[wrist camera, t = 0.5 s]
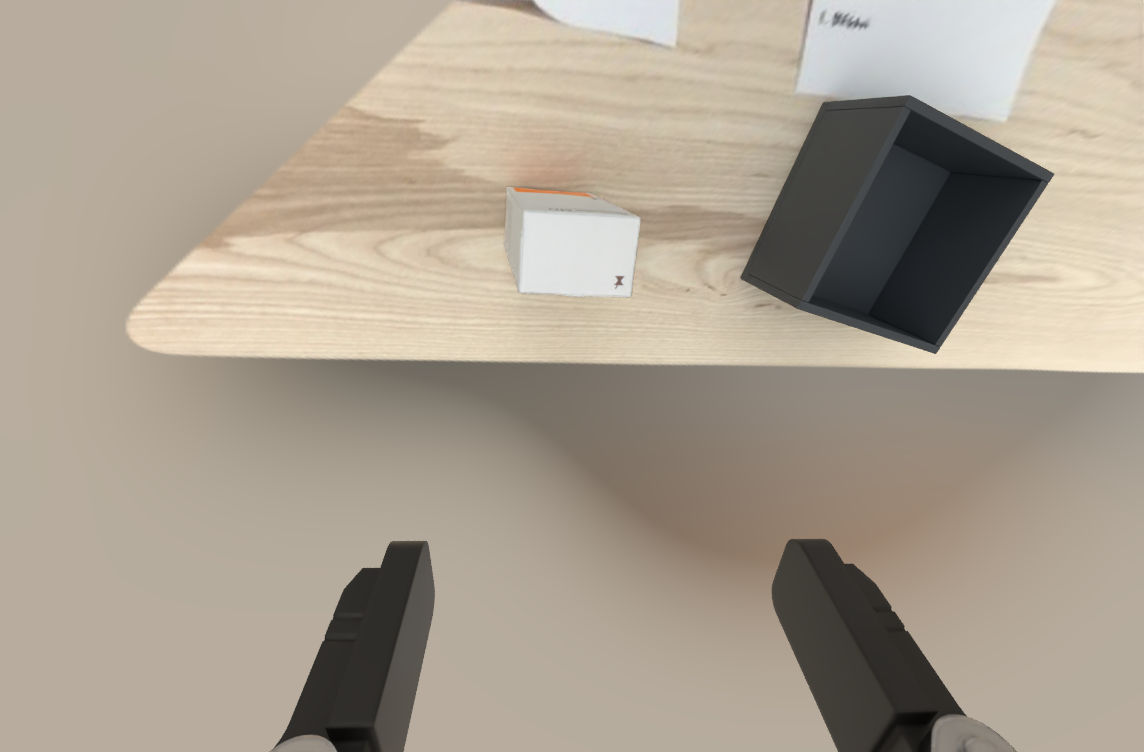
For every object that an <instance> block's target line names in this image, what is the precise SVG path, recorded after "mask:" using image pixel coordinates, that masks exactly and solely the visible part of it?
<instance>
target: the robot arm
mask: <svg viewBox="0 0 1144 752" xmlns="http://www.w3.org/2000/svg"><path fill="white" fill-rule="evenodd" d="M434 592H435V590H434V580H433V573H432V566H431V559H430V552H429V546H428V542H427V541H392V542H390V544H389V546H388V548H387V550H386V553H385V556H384V559H383V562H382V565H381V568H362V570H361V571H360V572H359V573H358V574H357V575H356V576H355V577H354V579H353V580H352V581H351V582H350V583H349V584H348V585H347V586H346V588H345V589H344V590H343V593H342V595H341V598H340V600H339V603H338V605H337V607H336V610H335V612H334V615H333V616H334V617H333V620H331V622H330V624H329V627H328V630H327V632H326V635H325V640H324V641H323V642H322V644H321V647H320V649H319V652H318V654H317V657H316V659H315V661H314V664H313V666H312V669H311V671H310V674H309V676H308V679H307V681H306V683H305V686H304V688H303V691H302V693H301V696H300V698H299V701H298V703H297V706H296V708H295V711H294V713H293V715H292V718H291V720H290V723H289V725H288V727H287V729H286V731H285V733H284V734H283V736H282V738H281V739H280V741H279V742H278V743H277V745H276V746H275V747H274V748H273V749H272V750H271V751H270V752H403V751H404V746H405V742H406V737H407V733H408V728H409V723H410V719H411V714H412V709H413V705H414V700H415V695H416V691H417V686H418V681H419V677H420V672H421V668H422V663H423V658H424V654H425V649H426V644H427V640H428V634H429V630H430V626H431V621H432V616H433V610H434V597H435V593H434ZM772 600H773V605H774V608H775V611H776V614H777V616H778V618H779V621H780V623H781V625H782V627H783V629H784V632H785V634H786V636H787V638H788V641H789V643H790V645H791V647H792V650H793V652H794V654H795V656H796V659H797V661H798V663H799V665H800V667H801V670H802V672H803V674H804V676H805V679H806V681H807V683H808V685H809V687H810V690H811V692H812V694H813V696H814V699H815V701H816V703H817V705H818V708H819V710H820V712H821V714H822V717H823V719H824V721H825V723H826V725H827V728H828V730H829V732H830V734H831V737H832V739H833V741H834V743H835V745H836V748H837V750H838V752H1017V751H1016V750H1015V749H1014V748H1013V747H1012V746H1011V745H1010V744H1009V743H1008V742H1007V741H1006V740H1005V739H1004V738H1003V737H1001V736H1000V735H999V734H998V733H997V732H995V731H994V730H992V729H991V728H990V727H988V726H986V725H985V724H983V723H981V722H979V721H977V720H974V719H973V718H969V717H967V716H966V715H965V714H964V712H963V711H962V710H961V708H960V707H959V706H958V704H957V703H956V701H955V700H954V698H953V697H952V696H951V694H950V693H949V691H948V690H947V688H946V687H945V685H944V684H943V682H942V681H941V679H940V678H939V676H938V675H937V673H936V672H935V670H934V669H933V668H932V666H931V665H930V663H929V662H928V660H927V659H926V657H925V656H924V654H923V653H922V651H921V650H920V648H919V647H918V645H917V644H916V643H915V641H914V640H913V638H912V637H911V635H910V634H909V632H908V631H905V629H904V625H903V623H902V622H901V620H900V619H899V618H898V616H897V615H896V613H895V612H893V611H892V610H891V606H890V604H889V603H888V601H887V600H886V598H885V597H884V595H883V594H882V593H881V591H880V590H879V588H878V587H877V585H876V584H875V583H874V582H873V581H872V580H871V579H870V578H869V577H867V576H866V575H865V574H864V573H863V572H862V571H861V570H859V569H858V568H857V567H856V566H855V565H854V564H844V563H843V561H842V560H841V558H840V556H839V555H838V553H837V552H836V550H835V549H834V547H833V546H832V544H831V543H830V542H829V541H827V540H825V539H791V540H789V541H788V543H787V544H786V547H785V550H784V553H783V555H782V558H781V561H780V564H779V567H778V569H777V572H776V575H775V578H774V581H773V584H772Z"/></svg>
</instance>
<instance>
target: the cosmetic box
mask: <svg viewBox="0 0 1144 752" xmlns="http://www.w3.org/2000/svg"><path fill="white" fill-rule="evenodd" d="M640 222H641V218H640V217H638V216H636V215H634V214H632V213H630V212H628V211H626V210H624V209H622V208H620V207H618V206H616V205H614V204H612V203H610V202H608V201H605V200H603V199H601V198H599V197H597V196H595V195H593V194H591V193H584V192H564V191H548V190H537V189H527V188H517V187H507V197H506V219H505V241H504V246H505V250H506V253H507V256H508V259H509V262H510V265H511V269H512V272H513V275H514V278H515V282H516V285H517V290H518V292H520V293H522V294H546V295H564V296H572V297H586V296H589V297H631V296H632V289H633V280H634V271H635V263H636V254H637V246H638V238H639V230H640Z"/></svg>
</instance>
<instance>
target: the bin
mask: <svg viewBox="0 0 1144 752" xmlns="http://www.w3.org/2000/svg"><path fill="white" fill-rule="evenodd" d="M1053 176H1054V173H1052V172H1050V171H1048V170H1047V169H1045V168H1043V167H1041V166H1039V165H1037V164H1036V163H1034V162H1032V161H1030V160H1028V159H1026V158H1024V157H1023V156H1021V155H1019V154H1017V153H1015V152H1013V151H1012V150H1010V149H1008V148H1006V147H1004V146H1002V145H1001V144H999V143H997V142H995V141H993V140H991V139H990V138H988V137H986V136H984V135H982V134H980V133H979V132H977V131H975V130H973V129H971V128H969V127H967V126H966V125H964V124H962V123H960V122H958V121H956V120H955V119H953V118H951V117H949V116H947V115H945V114H944V113H942V112H940V111H938V110H936V109H934V108H933V107H931V106H929V105H927V104H925V103H923V102H922V101H920V100H918V99H916V98H914V97H912V96H910V95H907V96H895V97H883V98H870V99H858V100H846V101H833V102H824V103H823V104H822V106H821V108H820V111H819V113H818V115H817V117H816V119H815V121H814V123H813V125H812V128H811V130H810V132H809V134H808V136H807V138H806V140H805V142H804V145H803V147H802V149H801V151H800V153H799V155H798V157H797V159H796V162H795V164H794V166H793V168H792V170H791V172H790V174H789V176H788V179H787V181H786V183H785V185H784V187H783V189H782V191H781V193H780V196H779V198H778V200H777V202H776V204H775V206H774V208H773V210H772V213H771V215H770V217H769V219H768V221H767V223H766V225H765V227H764V230H763V232H762V234H761V236H760V238H759V240H758V242H757V244H756V247H755V249H754V251H753V253H752V255H751V257H750V259H749V261H748V264H747V266H746V268H745V270H744V272H743V274H742V276H741V279H742V280H744V281H746V282H748V283H750V284H752V285H754V286H756V287H757V288H759V289H761V290H763V291H765V292H767V293H769V294H771V295H773V296H774V297H776V298H778V299H780V300H782V301H784V302H786V303H788V304H790V305H791V306H793V307H795V308H797V309H800V310H803V311H806V312H809V313H812V314H815V315H818V316H821V317H824V318H827V319H830V320H833V321H836V322H840V323H843V324H846V325H849V326H852V327H855V328H858V329H861V330H864V331H867V332H870V333H873V334H876V335H879V336H882V337H885V338H888V339H892V340H895V341H898V342H901V343H904V344H907V345H910V346H913V347H916V348H919V349H922V350H925V351H928V352H931V353H934V354H936V353H937V352H938V350H939V349H940V346H942V344H943V343H944V341H945V340H946V338H947V337H948V335H949V333H950V332H951V330H952V329H953V327H954V326H955V324H956V323H957V321H958V320H959V318H960V317H961V315H962V314H963V312H964V311H965V309H966V308H967V306H968V305H969V303H970V302H971V300H972V299H973V297H974V295H975V294H976V292H977V291H978V289H979V288H980V286H981V285H982V283H983V282H984V280H985V279H986V277H987V276H988V274H989V273H990V271H991V270H992V268H993V267H994V265H995V264H996V262H997V261H998V259H999V258H1000V256H1001V254H1002V253H1003V251H1004V250H1005V248H1006V247H1007V245H1008V244H1009V242H1010V241H1011V239H1012V238H1013V236H1014V235H1015V233H1016V232H1017V230H1018V229H1019V227H1020V226H1021V224H1022V223H1023V221H1024V220H1025V218H1026V216H1027V215H1028V213H1029V212H1030V210H1031V209H1032V207H1033V206H1034V204H1035V203H1036V201H1037V200H1038V198H1039V197H1040V195H1041V194H1042V192H1043V191H1044V189H1045V188H1046V186H1047V185H1048V183H1049V182H1050V180H1051V179H1052V177H1053Z"/></svg>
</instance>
